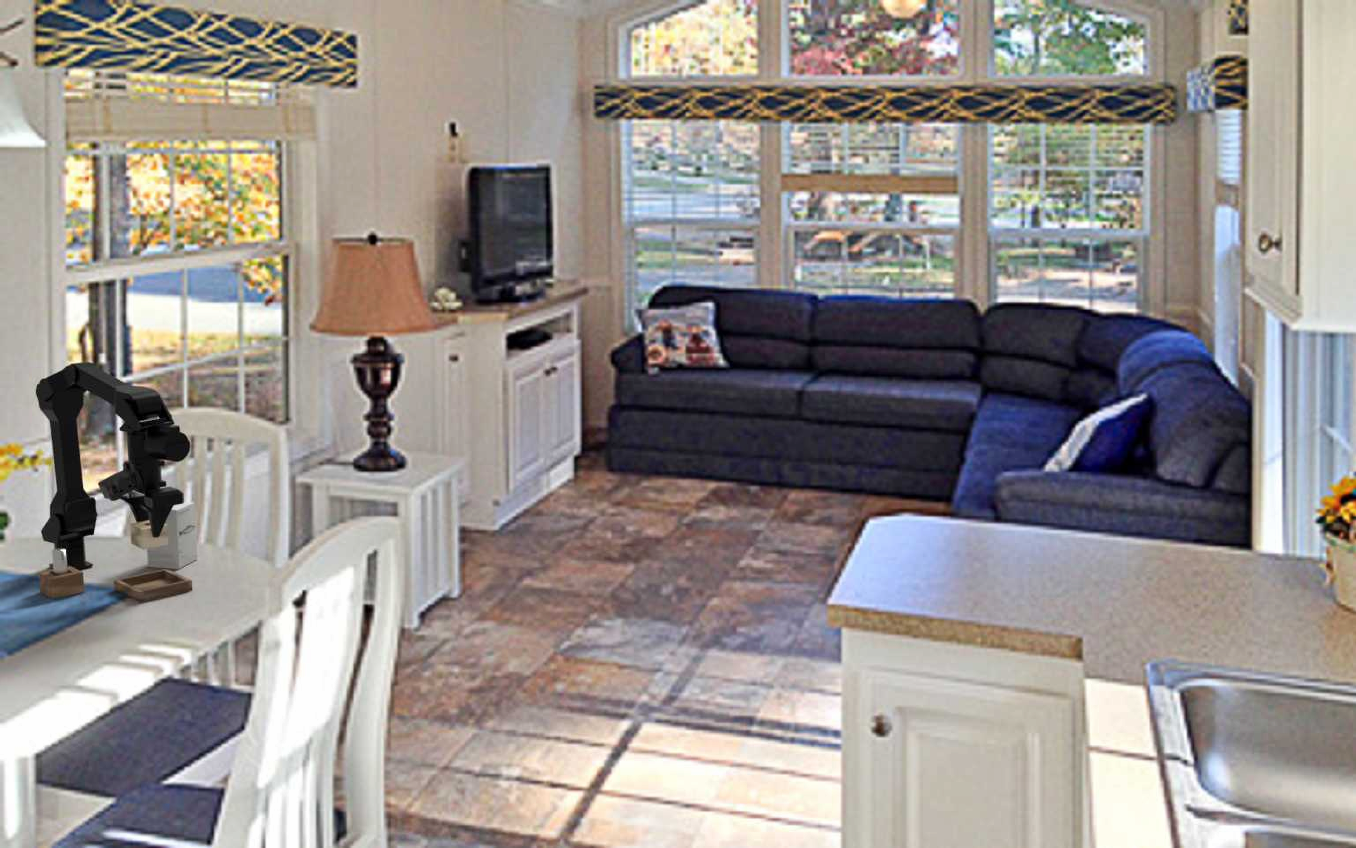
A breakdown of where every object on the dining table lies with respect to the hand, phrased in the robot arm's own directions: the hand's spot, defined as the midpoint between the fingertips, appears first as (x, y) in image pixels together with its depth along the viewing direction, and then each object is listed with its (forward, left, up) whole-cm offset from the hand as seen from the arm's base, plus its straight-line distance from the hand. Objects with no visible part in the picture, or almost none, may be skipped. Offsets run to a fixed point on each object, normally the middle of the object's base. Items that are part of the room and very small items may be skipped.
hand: (149, 534), depth 260 cm
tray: (0, 0, -11) cm, 11 cm away
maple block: (0, 0, -2) cm, 2 cm away
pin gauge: (-11, -13, -11) cm, 20 cm away
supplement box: (-14, +11, -11) cm, 21 cm away
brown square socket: (-11, -13, -11) cm, 20 cm away
